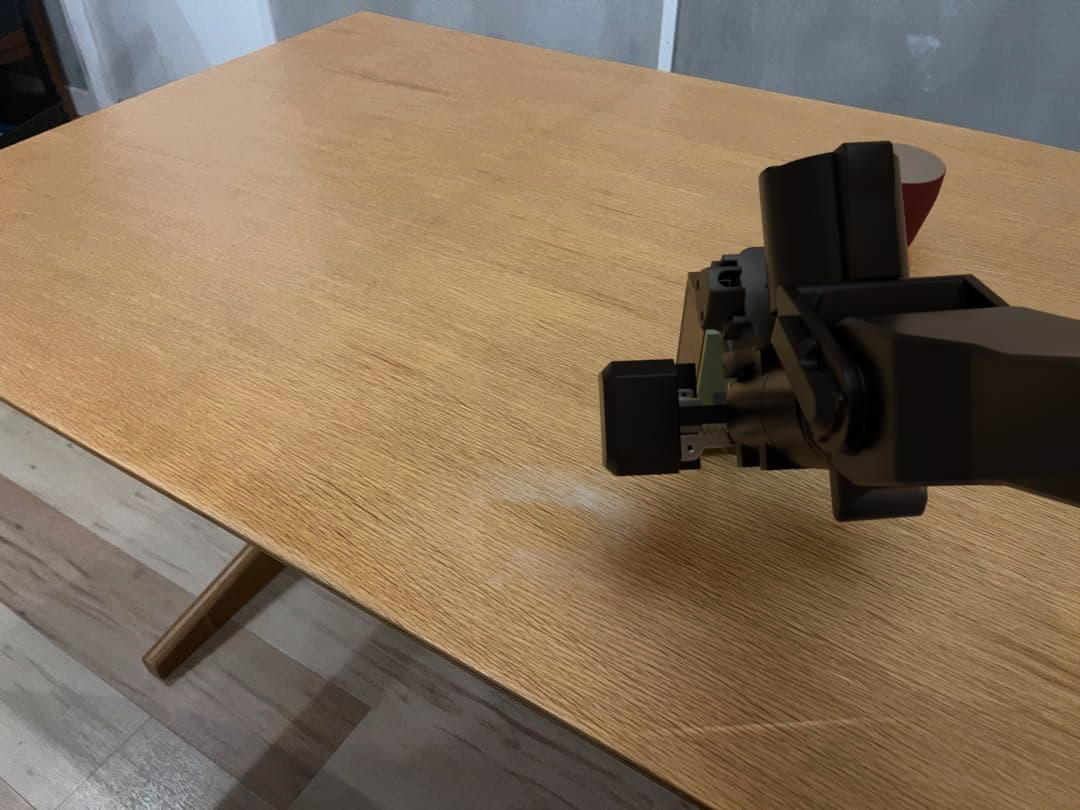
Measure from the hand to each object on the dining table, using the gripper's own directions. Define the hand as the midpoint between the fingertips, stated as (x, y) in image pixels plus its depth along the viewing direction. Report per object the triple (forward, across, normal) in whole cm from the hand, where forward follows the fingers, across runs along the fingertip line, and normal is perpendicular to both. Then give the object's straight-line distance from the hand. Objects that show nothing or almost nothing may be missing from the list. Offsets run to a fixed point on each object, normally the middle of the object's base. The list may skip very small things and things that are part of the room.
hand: (731, 416), depth 53 cm
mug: (+25, -20, -15) cm, 35 cm away
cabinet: (+10, -6, 0) cm, 11 cm away
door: (+5, -2, +4) cm, 7 cm away
